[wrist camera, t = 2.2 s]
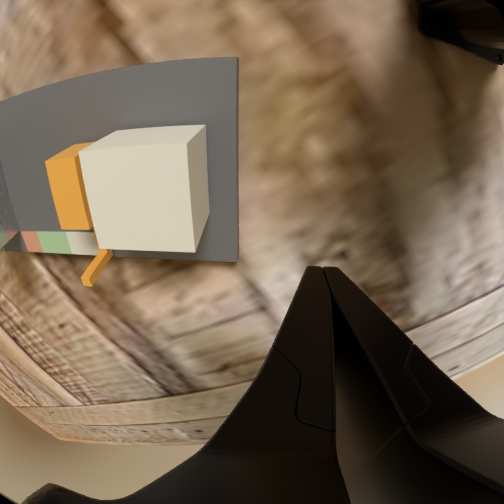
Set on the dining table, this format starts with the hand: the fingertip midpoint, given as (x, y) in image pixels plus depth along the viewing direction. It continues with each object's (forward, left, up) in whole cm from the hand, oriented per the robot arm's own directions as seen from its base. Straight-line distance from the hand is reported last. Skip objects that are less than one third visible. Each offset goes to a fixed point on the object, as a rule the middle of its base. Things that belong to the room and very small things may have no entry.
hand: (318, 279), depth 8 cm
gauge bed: (+13, 0, -10) cm, 17 cm away
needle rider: (+12, +2, -9) cm, 15 cm away
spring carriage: (+7, 0, -9) cm, 11 cm away
